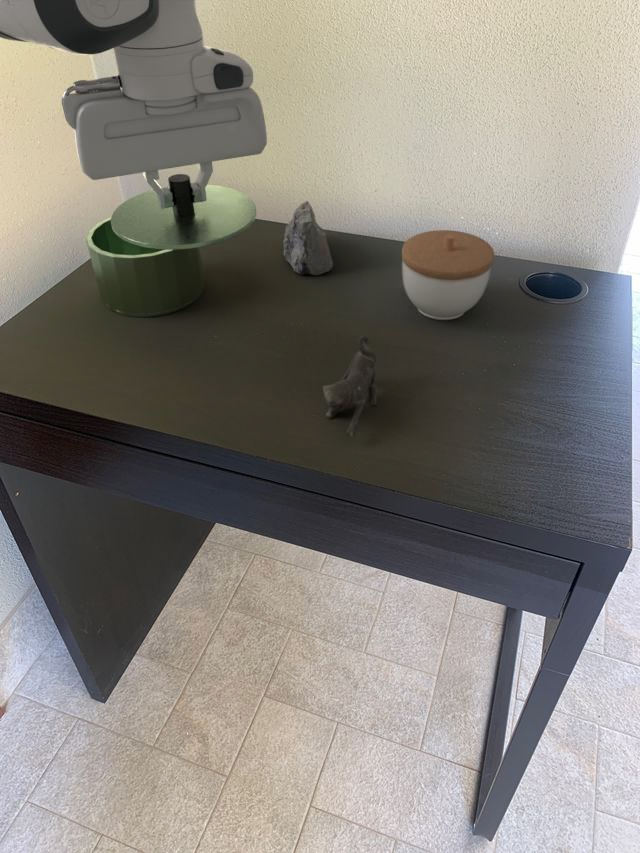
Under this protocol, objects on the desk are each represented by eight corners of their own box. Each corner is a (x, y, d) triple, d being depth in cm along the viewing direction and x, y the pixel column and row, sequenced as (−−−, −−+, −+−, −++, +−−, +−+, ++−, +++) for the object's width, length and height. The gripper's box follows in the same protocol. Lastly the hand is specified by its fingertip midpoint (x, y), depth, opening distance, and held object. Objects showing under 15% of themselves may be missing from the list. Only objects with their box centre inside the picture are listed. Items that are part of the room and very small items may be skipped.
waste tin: (110, 327, 97) (95, 266, 91) (94, 276, 108) (79, 219, 102) (216, 304, 102) (208, 244, 95) (190, 257, 113) (181, 202, 106)
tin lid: (126, 266, 71) (116, 220, 68) (102, 206, 83) (92, 164, 80) (276, 237, 76) (273, 193, 73) (233, 184, 88) (229, 143, 84)
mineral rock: (295, 236, 118) (292, 178, 112) (353, 245, 115) (355, 187, 109) (263, 270, 109) (259, 209, 103) (326, 281, 106) (326, 220, 100)
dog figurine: (343, 376, 88) (343, 327, 83) (386, 385, 86) (389, 336, 81) (308, 434, 80) (307, 384, 75) (355, 446, 78) (357, 395, 73)
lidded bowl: (382, 313, 99) (386, 243, 92) (423, 277, 107) (429, 209, 100) (462, 340, 94) (472, 267, 86) (498, 300, 101) (511, 230, 94)
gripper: (60, 91, 64) (94, 230, 73) (267, 66, 69) (275, 198, 79) (53, 75, 68) (86, 208, 77) (248, 52, 74) (257, 179, 83)
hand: (183, 203), depth 78 cm, fingers closed on tin lid, 2 cm apart
